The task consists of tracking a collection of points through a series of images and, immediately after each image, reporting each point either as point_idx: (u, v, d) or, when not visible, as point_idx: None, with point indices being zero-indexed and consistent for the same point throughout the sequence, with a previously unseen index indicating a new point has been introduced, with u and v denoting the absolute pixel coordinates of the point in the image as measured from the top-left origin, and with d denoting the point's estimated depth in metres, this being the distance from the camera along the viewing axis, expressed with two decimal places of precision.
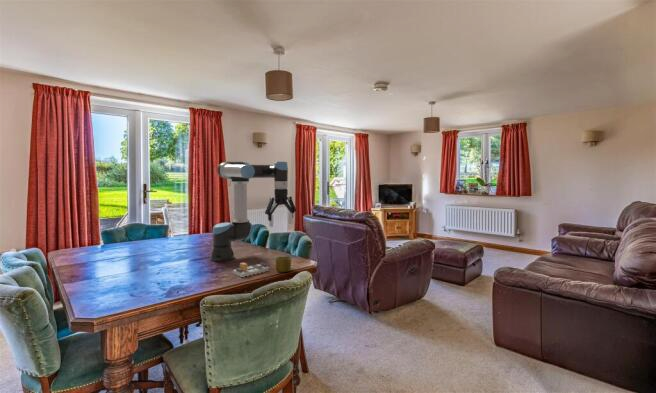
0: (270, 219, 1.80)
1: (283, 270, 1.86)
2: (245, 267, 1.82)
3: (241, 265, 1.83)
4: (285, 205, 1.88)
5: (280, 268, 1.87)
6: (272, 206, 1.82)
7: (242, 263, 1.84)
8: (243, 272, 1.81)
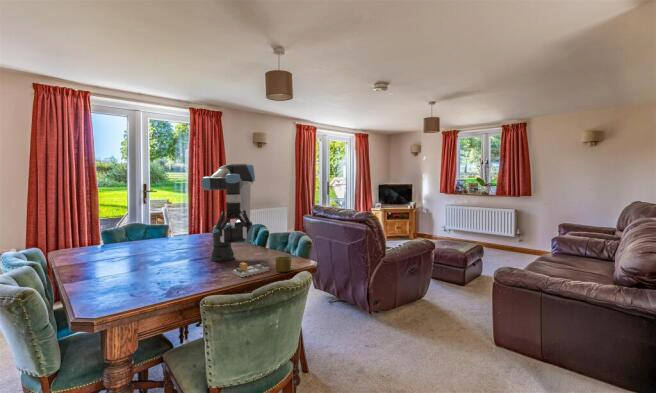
0: (221, 234, 1.72)
1: (283, 270, 1.86)
2: (245, 267, 1.82)
3: (241, 265, 1.83)
4: (238, 219, 1.80)
5: (280, 268, 1.87)
6: (223, 221, 1.74)
7: (242, 263, 1.84)
8: (243, 272, 1.81)
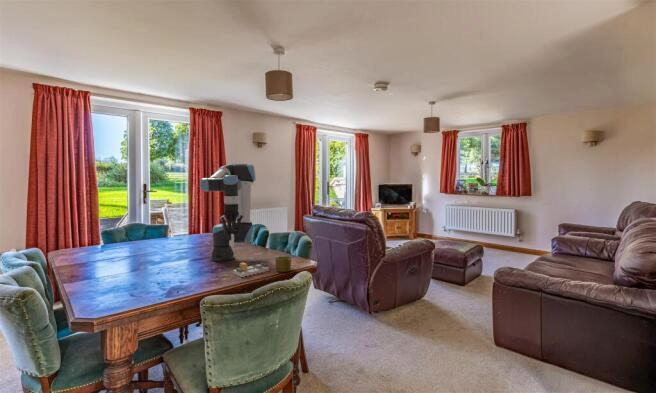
0: (230, 239, 1.76)
1: (283, 270, 1.86)
2: (245, 267, 1.82)
3: (241, 265, 1.83)
4: (232, 222, 1.78)
5: (280, 268, 1.87)
6: (227, 224, 1.76)
7: (242, 263, 1.84)
8: (243, 272, 1.81)
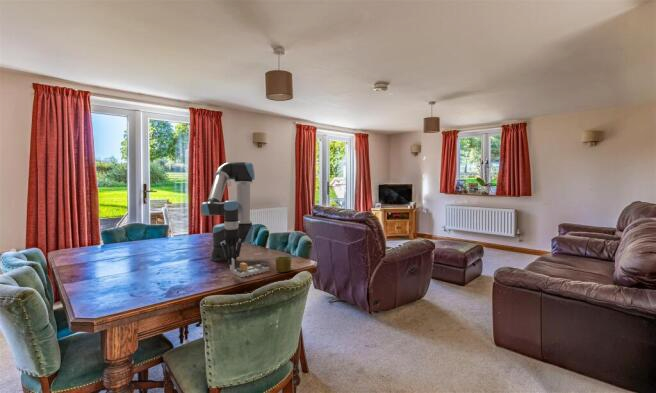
0: (230, 263, 1.77)
1: (283, 270, 1.86)
2: (245, 267, 1.82)
3: (241, 265, 1.83)
4: (232, 247, 1.79)
5: (280, 268, 1.87)
6: (227, 249, 1.77)
7: (242, 263, 1.84)
8: (243, 272, 1.81)
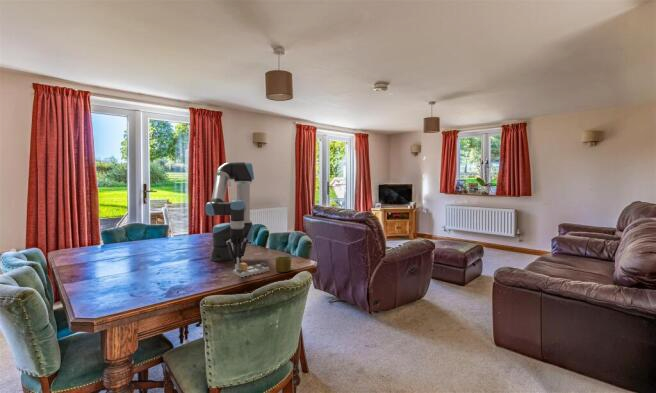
0: (235, 262, 1.79)
1: (283, 270, 1.86)
2: (245, 267, 1.82)
3: (241, 265, 1.83)
4: (237, 246, 1.81)
5: (280, 268, 1.87)
6: (233, 248, 1.80)
7: (242, 263, 1.84)
8: (243, 272, 1.81)
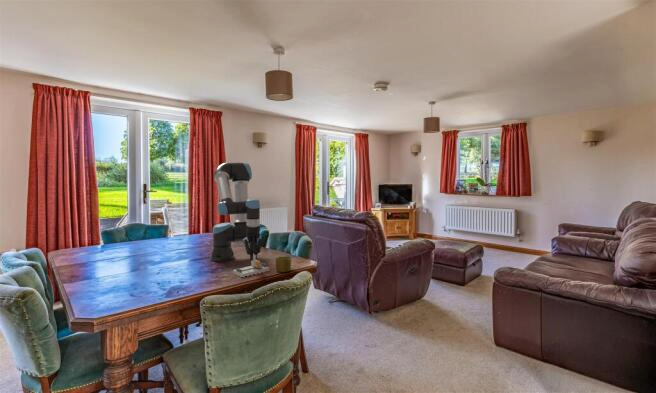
0: (252, 259, 1.86)
1: (283, 270, 1.86)
2: (258, 264, 1.88)
3: None
4: None
5: (280, 268, 1.87)
6: (249, 245, 1.87)
7: None
8: (243, 272, 1.81)
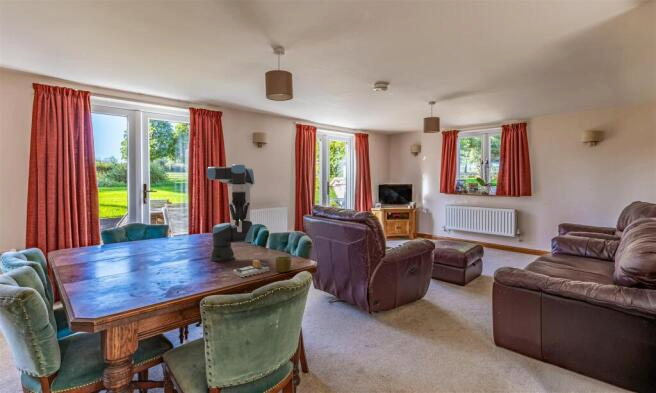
0: (238, 225, 1.85)
1: (283, 270, 1.86)
2: (258, 264, 1.88)
3: (254, 262, 1.89)
4: (239, 209, 1.86)
5: (280, 268, 1.87)
6: (235, 211, 1.85)
7: (255, 260, 1.90)
8: (243, 272, 1.81)
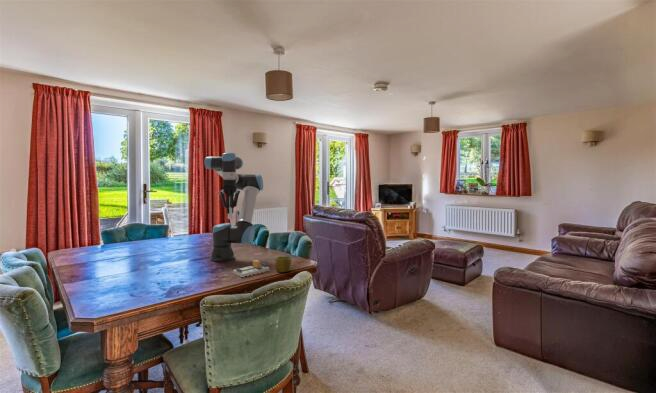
0: (228, 212, 1.89)
1: (283, 270, 1.86)
2: (258, 264, 1.88)
3: (254, 262, 1.89)
4: (230, 197, 1.91)
5: (280, 268, 1.87)
6: None
7: (255, 260, 1.90)
8: (243, 272, 1.81)
